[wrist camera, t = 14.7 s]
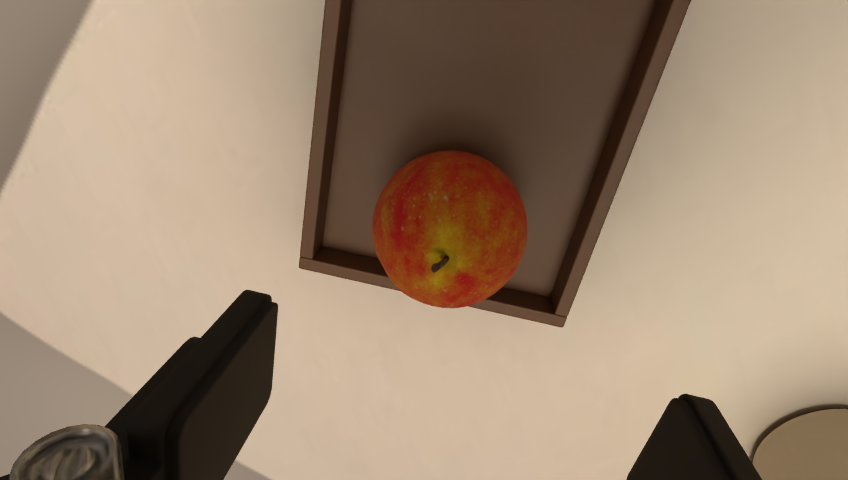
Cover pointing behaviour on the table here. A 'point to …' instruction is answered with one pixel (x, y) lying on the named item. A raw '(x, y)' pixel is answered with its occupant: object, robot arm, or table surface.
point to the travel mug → (806, 448)
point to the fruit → (449, 229)
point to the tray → (483, 122)
